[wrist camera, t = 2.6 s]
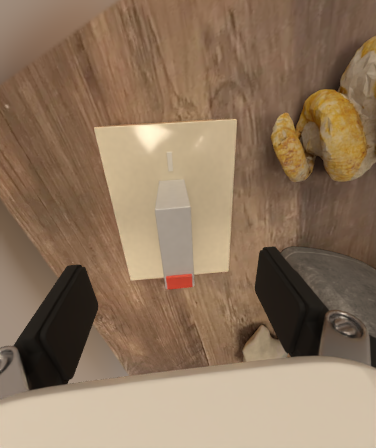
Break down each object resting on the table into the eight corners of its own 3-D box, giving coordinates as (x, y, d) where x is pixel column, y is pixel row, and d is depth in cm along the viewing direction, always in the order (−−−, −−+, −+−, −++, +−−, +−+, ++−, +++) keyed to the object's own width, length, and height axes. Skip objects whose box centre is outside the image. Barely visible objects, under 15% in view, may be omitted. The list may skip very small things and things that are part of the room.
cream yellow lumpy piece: (497, 167, 15) (297, 207, 14) (404, 163, 20) (258, 191, 20) (559, -17, 11) (300, 23, 11) (427, 40, 17) (252, 68, 16)
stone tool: (222, 344, 29) (244, 386, 37) (236, 369, 26) (256, 408, 34) (272, 312, 30) (283, 359, 38) (290, 333, 27) (298, 379, 35)
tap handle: (158, 180, 16) (154, 211, 11) (184, 178, 16) (191, 208, 11) (166, 244, 19) (165, 291, 14) (188, 242, 19) (194, 289, 14)
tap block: (105, 125, 17) (92, 127, 14) (226, 118, 17) (238, 119, 14) (134, 262, 23) (130, 281, 21) (222, 254, 24) (229, 272, 21)
